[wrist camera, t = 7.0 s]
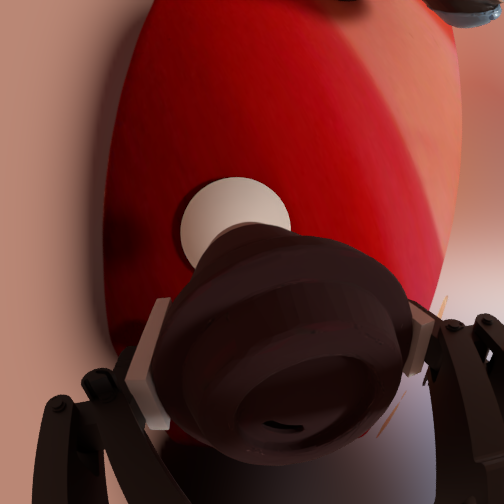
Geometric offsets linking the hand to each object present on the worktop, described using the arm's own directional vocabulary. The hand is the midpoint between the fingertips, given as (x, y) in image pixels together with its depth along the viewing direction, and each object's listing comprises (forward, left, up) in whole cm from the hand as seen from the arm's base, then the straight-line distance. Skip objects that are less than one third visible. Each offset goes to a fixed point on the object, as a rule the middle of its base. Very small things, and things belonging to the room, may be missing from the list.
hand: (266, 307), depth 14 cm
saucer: (0, 0, -22) cm, 22 cm away
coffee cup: (0, 0, -7) cm, 7 cm away
